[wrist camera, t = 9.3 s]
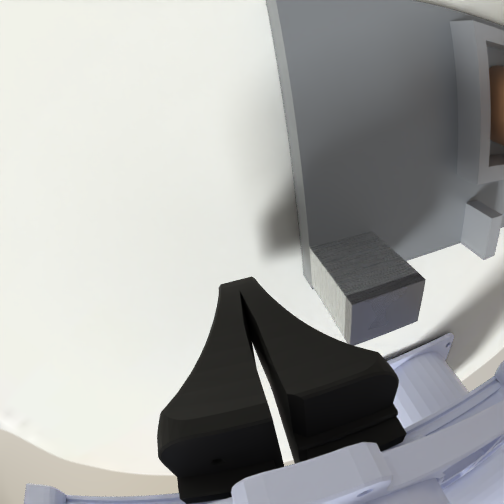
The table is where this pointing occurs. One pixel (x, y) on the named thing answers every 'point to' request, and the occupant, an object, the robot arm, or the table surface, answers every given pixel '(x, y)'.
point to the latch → (365, 286)
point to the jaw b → (497, 103)
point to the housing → (390, 123)
